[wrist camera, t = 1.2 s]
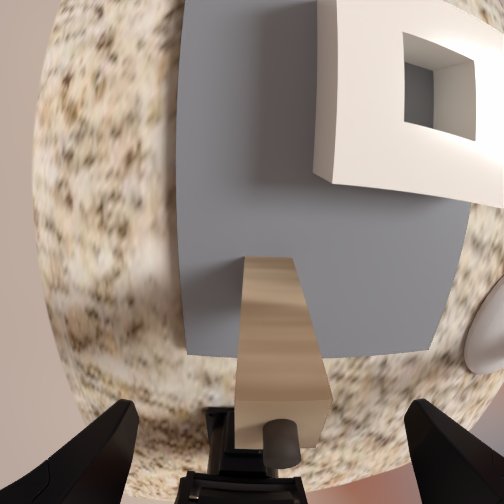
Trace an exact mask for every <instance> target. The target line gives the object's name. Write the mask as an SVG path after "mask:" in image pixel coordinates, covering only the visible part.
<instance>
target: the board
mask: <svg viewBox="0 0 504 504" xmlns="http://www.w3.org/2000/svg"><path fill="white" fill-rule="evenodd" d="M404 81H405V96H404V122H407V123H412V124H416V125H420V126H424V127H428V128H431V129H433V118H434V76H433V71H431V70H428V69H425V68H422V67H419V66H416V65H413V64H410V63H407V62H404ZM316 95H317V0H185V7H184V16H183V25H182V36H181V47H180V60H179V75H178V93H177V119H176V209H177V236H178V255H179V272H180V286H181V298H182V310H183V320H184V330H185V340H186V348H187V355H199V356H213V357H231V358H237V357H238V343H239V329H240V315H241V301H242V287H243V274H244V261H245V256H259V257H287V258H293V261H294V265H295V268H296V271H297V274H298V278H299V281H300V284H301V287H302V291H303V294H304V297H305V301H306V304H307V307H308V311H309V314H310V318H311V321H312V325H313V328H314V332H315V335H316V339H317V342H318V346H319V349H320V353H321V356H322V358H343V357H360V356H374V355H386V354H396V353H405V352H414V351H422V350H429V347H430V345H431V343H432V340H433V338H434V335H435V333H436V330H437V327H438V325H439V322H440V319H441V317H442V314H443V311H444V308H445V305H446V302H447V299H448V296H449V293H450V290H451V287H452V284H453V280H454V277H455V273H456V270H457V266H458V263H459V259H460V255H461V251H462V247H463V242H464V238H465V234H466V229H467V224H468V219H469V213H470V208H471V202H467V201H462V200H456V199H450V198H444V197H438V196H432V195H425V194H418V193H411V192H404V191H396V190H389V189H380V188H371V187H362V186H353V185H342V184H332V183H330V182H329V181H327V180H325V179H323V178H321V177H320V176H318V175H316V174H314V173H313V158H314V141H315V121H316Z"/></svg>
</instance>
